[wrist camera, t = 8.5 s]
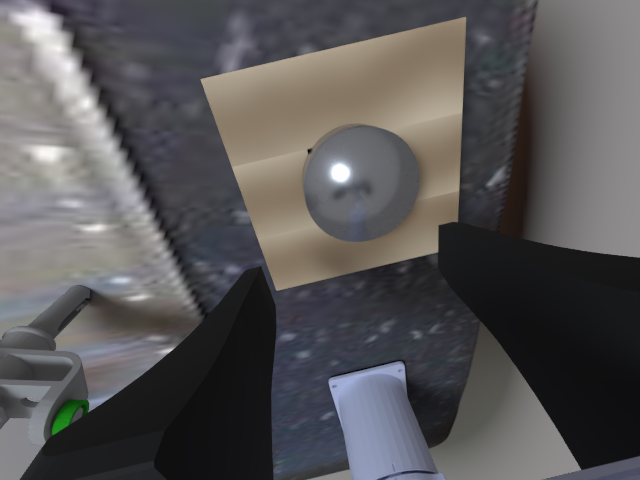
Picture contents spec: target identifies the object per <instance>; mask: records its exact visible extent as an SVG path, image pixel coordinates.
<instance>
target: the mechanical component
mask: <svg viewBox="0 0 640 480" xmlns="http://www.w3.org/2000/svg"><path fill="white" fill-rule="evenodd" d="M85 298H90V290H89V289H88V288H87V287H84V286H79V285H78V286H73V287H72V288H70V289H69V290H68V291H67V292H66V293H65V294H64V295H62V296H61V297H60V298H59V299H58V300H57V301H56V302H54V303H53V304H52V305H51V306H50V307H49V308H48V309H46V310H45V311H44V312H43V313H42V314H41V315H40V316H38V317H37V318H36V319H35V320H34V321H33V322H32V323H30V324H29V325H28V326H18V327H14V328H11V329H9V330H7V331H6V332H5V333H4V334H3V336H2V339H1V340H0V429H1V428H2V427H3V425H4V424H5V423H6V422H7V421H8V420H9V419H10V418H31V419H30V423H29V427H28V438H29V440H30V442H31V444H33V445H44V444H45V443H46V441H47V440H48V439H49V437H51V436H52V435H54V434H56V433H57V432H59V431H60V430H62V429H64V428H65V427H67V426H68V425H70V424H71V423H73V422H75V421H76V420H78V419H79V418H81V417H82V416H84V415H85V414H87V413H88V410H89V402H88V400H87V398H88V389H87V384H86V380H85V375H84V371H83V366H82V362H81V358H80V357H79V356H78V355H77V354H75V353H72V352H65V351H55V349H56V343H55V341H54V338H55V337H56V336H57V335H58V334H59V333H60V332H61V331H62V330H63V329H64V328H65V327H66V326H67V325H68V324H69V323H70V322H71V321H72V320H73V319H74V318H75V317H76V316H77V315H78V314H79V313H80V311H81V310H82V309H83V308H84V307H85V306H86V305H87V304H88V303H89V302H90V301H91V300H84V299H85ZM26 397H31V398H35V399H37V400H38V401H39V402H33V401H30V400H28V399H27V398H26Z"/></svg>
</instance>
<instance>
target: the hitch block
mask: <svg viewBox="0 0 640 480" xmlns="http://www.w3.org/2000/svg"><path fill="white" fill-rule="evenodd" d="M465 34H466V17H464V18H460V19H455V20H451V21H447V22H443V23H438V24H434V25H430V26H425V27H421V28H417V29H413V30H408V31H404V32H400V33H396V34H391V35H387V36H383V37H379V38H374V39H370V40H366V41H362V42H357V43H353V44H349V45H344V46H340V47H336V48H332V49H327V50H323V51H319V52H315V53H310V54H306V55H302V56H298V57H293V58H289V59H285V60H281V61H276V62H272V63H268V64H264V65H259V66H255V67H251V68H246V69H242V70H238V71H234V72H229V73H225V74H221V75H217V76H212V77H208V78H204V79H201V82H202V85H203V88H204V90H205V93H206V96H207V99H208V101H209V104H210V107H211V110H212V113H213V115H214V118H215V121H216V124H217V126H218V129H219V132H220V135H221V138H222V140H223V143H224V146H225V149H226V152H227V154H228V157H229V160H230V163H231V165H232V168H233V171H234V174H235V177H236V179H237V182H238V185H239V188H240V190H241V193H242V196H243V199H244V202H245V204H246V207H247V210H248V213H249V215H250V218H251V221H252V224H253V227H254V229H255V232H256V235H257V238H258V241H259V243H260V246H261V249H262V252H263V254H264V257H265V260H266V263H267V266H268V268H269V271H270V274H271V277H272V279H273V282H274V285H275V288H276V291H278V290H282V289H286V288H290V287H295V286H299V285H303V284H307V283H311V282H315V281H320V280H324V279H328V278H332V277H336V276H341V275H345V274H349V273H353V272H357V271H361V270H366V269H370V268H374V267H378V266H382V265H387V264H391V263H395V262H399V261H403V260H407V259H412V258H416V257H420V256H424V255H428V254H433V253H437V252H438V225H442V224H446V223H450V222H458V207H459V182H460V158H461V133H462V108H463V83H464V59H465ZM352 123H361V124H368V125H371V126H375V127H378V128H382V129H385V130H388V131H390V132H393V133H395V134H396V135H398V136H399V137H401V138H402V139H403V140H404V141H405V142H406V143H407V144H408V145H409V147H410V148H411V149H412V151H413V153H414V155H415V157H416V160H417V162H418V166H419V173H420V185H419V191H418V195H417V198H416V200H415V203H414V205H413V207H412V209H411V211H410V212H409V214H408V215H407V216H406V218H405V219H404V220H403V221H402V222H401V223H400V224H399V225H398V226H397V227H396V228H394V229H393V230H392V231H390V232H389V233H387V234H385V235H383V236H381V237H379V238H376V239H373V240H369V241H364V242H348V241H343V240H340V239H336V238H334V237H332V236H330V235H328V234H327V233H325V232H324V231H323V230H322V229H320V228H319V227H318V225H317V224H316V223H315V222H314V220H313V219H312V217H311V216H310V213H309V211H308V209H307V206H306V202H305V197H304V192H303V186H302V172H303V167H304V163H305V161H306V158H307V156H308V151H307V149H311V148H312V147H313V146H314V144H315V143H316V142H317V141H318V140H319V139H320V138H321V137H322V136H324V135H325V134H326V133H328V132H329V131H331V130H333V129H335V128H337V127H339V126H343V125H346V124H352Z"/></svg>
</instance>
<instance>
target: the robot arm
mask: <svg viewBox="0 0 640 480" xmlns="http://www.w3.org/2000/svg"><path fill="white" fill-rule="evenodd" d="M438 268H439V270H440V271H441V273H442V275H443V276H444V278H445V279H446V281H447V282H448V284H449V285H450V287H451V288H452V289H453V290H454V291H455V293H456V294H457V295H458V296H459V297H460V298H461V299H462V301H463V302H464V303H465V304H466V305H467V306H468V307H469V308H470V310H471V311H472V312H473V313H474V314H475V315H476V316H477V317H478V318H479V320H480V321H481V322H482V323H483V324H484V325H485V326H486V327H487V328H488V330H489V331H490V332H491V333H492V334H493V336H494V337H495V338H496V339H497V341H498V342H499V343H500V344H501V346H502V347H503V349H504V350H505V352H506V353H507V354H508V356H509V357H510V358H511V360H512V361H513V363H514V364H515V365H516V367H517V368H518V370H519V371H520V373H521V374H522V376H523V377H524V378H525V380H526V381H527V383H528V384H529V386H530V387H531V389H532V390H533V392H534V393H535V395H536V396H537V398H538V399H539V401H540V402H541V404H542V406H543V407H544V409H545V410H546V412H547V413H548V415H549V417H550V418H551V420H552V421H553V423H554V425H555V426H556V428H557V429H558V431H559V433H560V434H561V436H562V437H563V439H564V441H565V443H566V444H567V446H568V448H569V449H570V451H571V453H572V454H573V456H574V458H575V460H576V461H577V463H578V465H579V466H580V468H581V470H580V471H576V472H572V473H568V474H563V475H559V476H555V477H551V478H547V479H543V480H640V258H637V257H628V256H618V255H610V254H601V253H594V252H587V251H581V250H575V249H568V248H562V247H557V246H552V245H547V244H542V243H538V242H533V241H529V240H524V239H520V238H516V237H512V236H509V235H505V234H501V233H497V232H494V231H490V230H486V229H483V228H479V227H475V226H471V225H467V224H463V223H458V222H450V223H446V224H442V225H438ZM275 340H276V307H275V303H274V300H273V298H272V295H271V292H270V289H269V287H268V284H267V281H266V278H265V276H264V273H263V270H262V267H257V268H252V269H248V270H246V271H245V272H244V273H243V274H242V275H241V276H240V278H239V279H238V280H237V282H236V283H235V284H234V285H233V287H232V288H231V289H230V290H229V292H228V293H227V294H226V295H225V296H224V298H223V299H222V300H221V301H220V303H219V304H218V305H217V306H216V307H215V308H214V309H213V310H212V312H211V313H210V314H209V315H208V316H207V317H206V318H205V319H204V321H203V322H202V323H201V324H200V325H199V326H198V327H197V328H196V329H195V330H194V331H193V332H192V333H191V334H190V335H189V336H188V337H187V338H185V339H184V340H183V341H182V342H181V343H180V344H179V345H178V346H177V347H176V348H175V349H173V350H172V351H171V352H170V353H169V354H167V355H166V356H165V357H164V358H163V359H161V360H160V361H159V362H158V363H157V364H155V365H154V366H153V367H152V368H150V369H149V370H148V371H147V372H145V373H144V374H143V375H141V376H140V377H139V378H137V379H136V380H135V381H133V382H132V383H131V384H129V385H128V386H127V387H125V388H124V389H122V390H121V391H120V392H118V393H117V394H115V395H114V396H113V397H111V398H110V399H108V400H107V401H105V402H104V403H102V404H101V405H99V406H98V407H96V408H95V409H93V410H92V411H90V412H89V413H87V414H85V415H84V416H82V417H81V418H79V419H78V420H76V421H75V422H73V423H71V424H70V425H68V426H67V427H65V428H64V429H62V430H60V431H59V432H57V433H56V434H54V435H52V436H51V437H49V439H48V440H47V441H46V443H45V444H44V446H43V447H42V448H41V450H40V451H39V453H38V454H37V456H36V457H35V459H34V460H33V461H32V463H31V464H30V466H29V467H28V469H27V470H26V472H25V473H24V474H23V476H22V477H21V479H20V480H273V460H272V426H271V387H272V373H273V362H274V351H275ZM329 386H330V389H331V393H332V396H333V399H334V402H335V406H336V409H337V412H338V415H339V419H340V422H341V425H342V429H343V432H344V437H345V443H346V449H347V454H348V460H349V466H350V471H351V477H352V480H446V478H445V475H444V473H438V471H437V468H436V466H435V463H434V461H433V458H432V456H431V454H430V451H429V449H428V446H427V444H426V441H425V439H424V436H423V434H422V432H421V429H420V427H419V424H418V422H417V419H416V417H415V415H414V412H413V410H412V407H411V405H410V402H409V400H408V398H407V388H406V376H405V366H404V363H403V362H401V361H398V362H394V363H390V364H386V365H381V366H377V367H373V368H369V369H365V370H361V371H357V372H352V373H348V374H344V375H340V376H336V377H332V378H330V379H329Z"/></svg>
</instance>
